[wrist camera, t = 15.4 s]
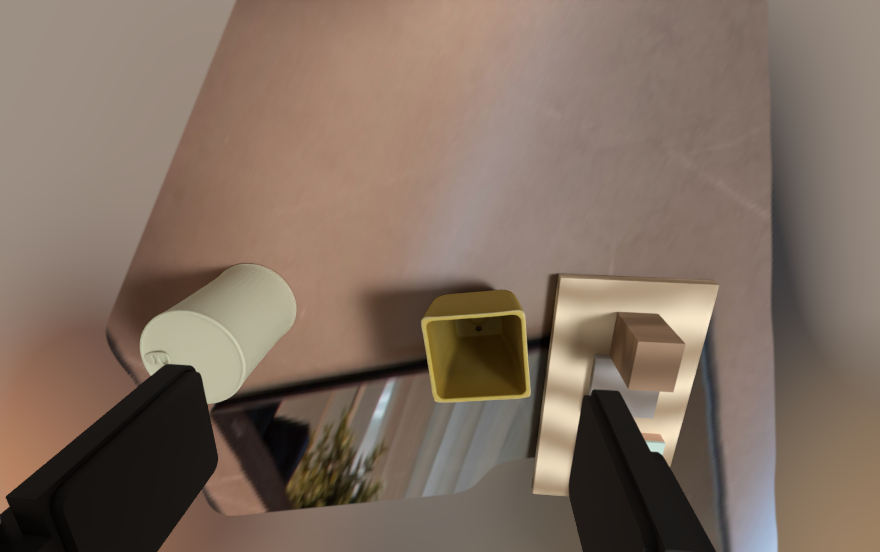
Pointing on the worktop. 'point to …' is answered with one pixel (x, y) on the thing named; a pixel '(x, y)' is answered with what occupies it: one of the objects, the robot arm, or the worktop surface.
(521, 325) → the flower pot
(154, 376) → the robot arm
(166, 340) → the can
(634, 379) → the block on grey plate
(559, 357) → the board
